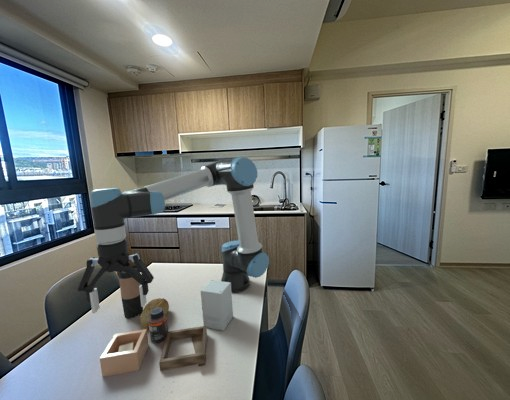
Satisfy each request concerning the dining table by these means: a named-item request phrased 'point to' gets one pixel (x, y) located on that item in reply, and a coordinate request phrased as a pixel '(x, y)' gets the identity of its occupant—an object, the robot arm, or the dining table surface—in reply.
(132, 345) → the maple cube
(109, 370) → the light wooden box
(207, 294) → the supplement box
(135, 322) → the dining table surface
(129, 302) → the travel mug
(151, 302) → the bread roll
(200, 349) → the walnut bin
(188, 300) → the dining table surface
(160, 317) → the supplement bottle
